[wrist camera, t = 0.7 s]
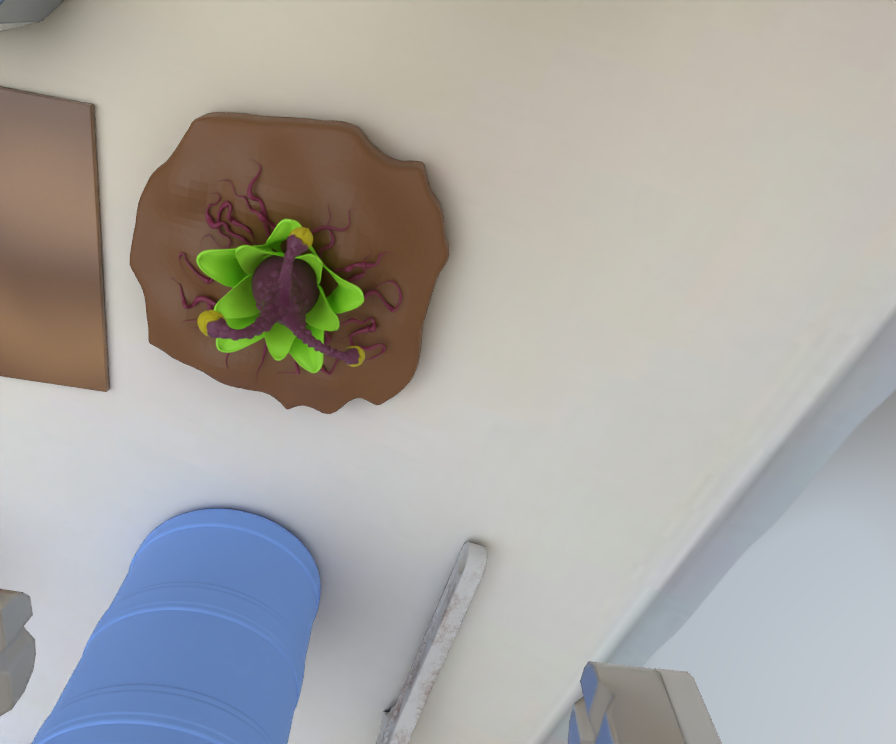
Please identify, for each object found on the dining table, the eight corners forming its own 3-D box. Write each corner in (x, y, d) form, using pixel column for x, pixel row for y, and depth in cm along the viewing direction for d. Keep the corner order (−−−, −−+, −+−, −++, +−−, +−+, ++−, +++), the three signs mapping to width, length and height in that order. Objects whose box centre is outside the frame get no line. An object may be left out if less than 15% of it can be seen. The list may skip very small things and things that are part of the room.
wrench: (483, 521, 61) (381, 756, 71) (463, 516, 60) (364, 752, 70) (493, 582, 53) (378, 834, 63) (471, 576, 53) (359, 830, 63)
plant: (155, 65, 40) (62, 87, 30) (475, 158, 43) (485, 205, 33) (134, 358, 49) (57, 448, 39) (399, 419, 52) (389, 517, 42)
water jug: (139, 488, 55) (-108, 886, 30) (334, 519, 56) (252, 920, 32) (138, 622, 62) (-62, 1032, 37) (311, 647, 64) (229, 1054, 39)
